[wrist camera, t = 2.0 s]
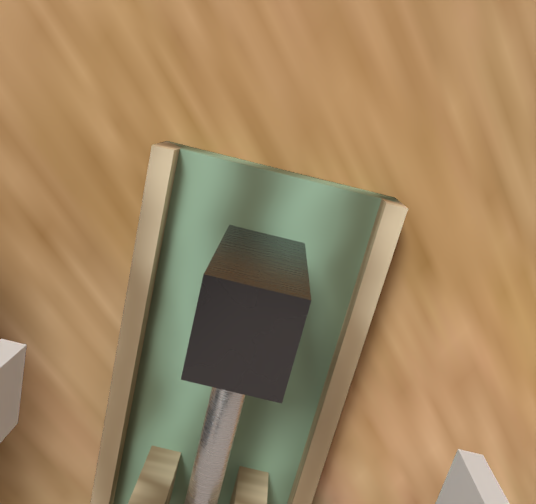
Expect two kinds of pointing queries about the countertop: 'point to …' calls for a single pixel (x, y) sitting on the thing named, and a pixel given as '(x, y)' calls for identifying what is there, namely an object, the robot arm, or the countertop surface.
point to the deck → (182, 316)
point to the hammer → (243, 340)
